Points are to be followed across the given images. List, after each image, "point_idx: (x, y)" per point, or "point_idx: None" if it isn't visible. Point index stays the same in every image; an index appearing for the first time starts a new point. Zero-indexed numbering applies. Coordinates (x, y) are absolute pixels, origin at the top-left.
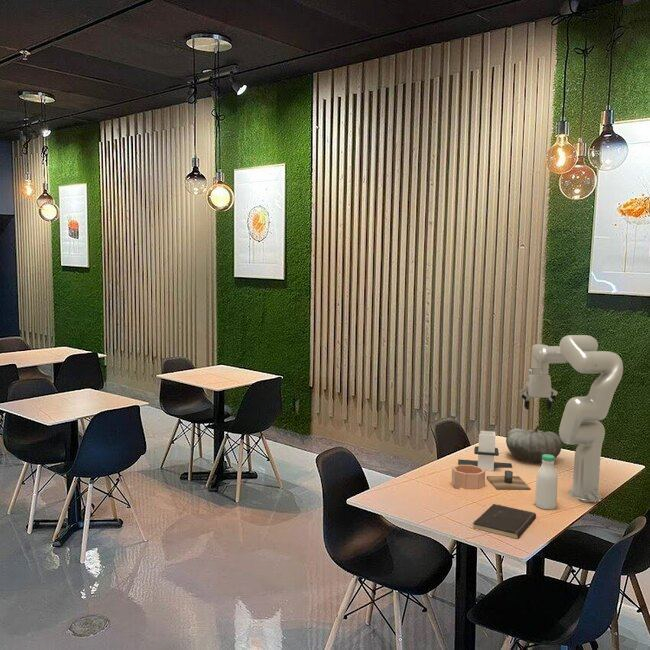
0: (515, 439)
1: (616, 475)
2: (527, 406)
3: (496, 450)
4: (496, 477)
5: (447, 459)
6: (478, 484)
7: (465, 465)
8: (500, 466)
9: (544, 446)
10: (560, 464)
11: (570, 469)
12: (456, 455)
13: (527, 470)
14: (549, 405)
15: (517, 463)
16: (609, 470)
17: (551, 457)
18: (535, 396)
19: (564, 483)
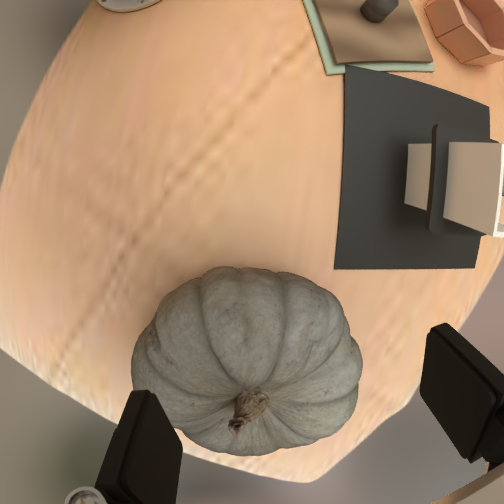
0: (342, 343)
1: (8, 228)
2: (466, 347)
3: (439, 182)
4: (407, 49)
5: (495, 258)
6: None
7: (499, 49)
8: (379, 216)
9: (211, 280)
10: (151, 306)
11: (121, 254)
12: (468, 305)
13: (285, 196)
14: (128, 434)
15: (310, 278)
16: (22, 274)
17: None
18: (496, 489)
19: (168, 73)
